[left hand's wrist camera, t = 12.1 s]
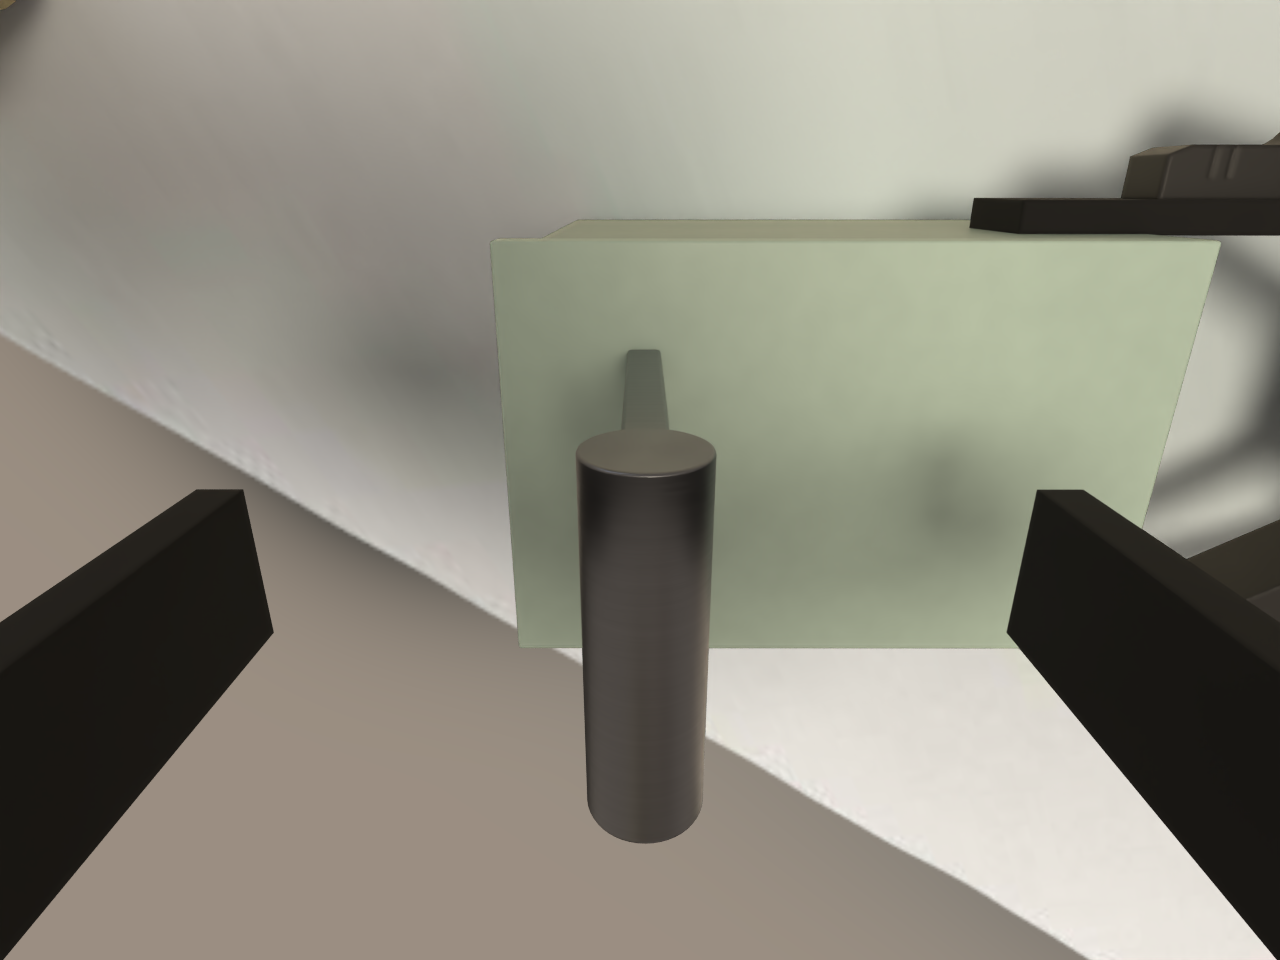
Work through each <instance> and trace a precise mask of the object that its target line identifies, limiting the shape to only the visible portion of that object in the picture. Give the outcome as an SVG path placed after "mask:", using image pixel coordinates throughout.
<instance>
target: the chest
mask: <svg viewBox="0 0 1280 960" xmlns="http://www.w3.org/2000/svg"><path fill="white" fill-rule="evenodd" d="M969 226H970V220H576V221H574V222H572V223H570V224H568V225H567V226H565V227H563V228H561V229H559V230H557V231H555V232H553V233H551V234H549V235H547V236H545V237H543V238H1185V237H1174V236H1163V235H1152V234H1014V233H1006V232H998V231H990V230H982V229H973V228H969Z"/></svg>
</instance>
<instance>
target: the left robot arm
mask: <svg viewBox="0 0 1280 960" xmlns="http://www.w3.org/2000/svg"><path fill="white" fill-rule="evenodd" d="M273 633H274V632H273V627H272V623H271V618H270V613H269V608H268V604H267V599H266V594H265V590H264V585H263V580H262V576H261V571H260V566H259V562H258V557H257V552H256V547H255V543H254V538H253V533H252V529H251V524H250V519H249V515H248V510H247V505H246V501H245V496H244V492H243V490H195V491H194V492H192V493H191V494H189V495H188V496H186V497H185V498H183V499H182V500H180V501H179V502H177V503H176V504H174V505H173V506H172V507H170V508H169V509H167V510H166V511H164V512H163V513H161V514H160V515H158V516H157V517H155V518H154V519H152V520H151V521H149V522H148V523H146V524H145V525H143V526H142V527H140V528H139V529H138V530H136V531H135V532H133V533H132V534H130V535H129V536H127V537H126V538H124V539H123V540H121V541H120V542H118V543H117V544H115V545H114V546H112V547H111V548H109V549H108V550H107V551H105V552H104V553H102V554H101V555H99V556H98V557H96V558H95V559H93V560H92V561H90V562H89V563H87V564H86V565H84V566H83V567H81V568H80V569H79V570H77V571H75V572H74V573H72V574H71V575H70V576H68V577H67V578H65V579H64V580H62V581H61V582H59V583H58V584H56V585H55V586H53V587H52V588H50V589H49V590H47V591H46V592H44V593H43V594H41V595H40V596H38V597H37V598H36V599H34V600H33V601H31V602H30V603H28V604H27V605H25V606H24V607H22V608H21V609H19V610H18V611H16V612H15V613H13V614H12V615H11V616H9V617H7V618H6V619H5V620H3V621H2V622H0V960H3V959H4V958H5V957H6V956H7V955H8V953H9V952H10V951H11V950H12V948H13V947H14V946H15V945H16V944H17V942H18V941H19V940H20V939H21V938H22V936H23V935H24V934H25V933H26V932H27V930H28V929H29V928H30V927H31V926H32V924H33V923H34V922H35V921H36V919H37V918H38V917H39V916H40V915H41V913H42V912H43V911H44V910H45V909H46V907H47V906H48V905H49V904H50V902H51V901H52V900H53V899H54V898H55V896H56V895H57V894H58V893H59V892H60V890H61V889H62V888H63V887H64V886H65V884H66V883H67V882H68V881H69V880H70V878H71V877H72V876H73V875H74V873H75V872H76V871H77V870H78V869H79V867H80V866H81V865H82V864H83V863H84V861H85V860H86V859H87V858H88V856H89V855H90V854H91V853H92V852H93V851H94V849H95V848H96V847H97V846H98V844H99V843H100V842H101V841H102V840H103V838H104V837H105V836H106V835H107V834H108V832H109V831H110V830H111V829H112V828H113V826H114V825H115V824H116V823H117V821H118V820H119V819H120V818H121V817H122V815H123V814H124V813H125V812H126V811H127V809H128V808H129V807H130V806H131V804H132V803H133V802H134V801H135V800H136V799H137V797H138V796H139V795H140V794H141V792H142V791H143V790H144V789H145V788H146V786H147V785H148V784H149V783H150V782H151V780H152V779H153V778H154V777H155V776H156V774H157V773H158V772H159V771H160V769H161V768H162V767H163V766H164V765H165V763H166V762H167V761H168V760H169V759H170V757H171V756H172V755H173V754H174V753H175V751H176V750H177V749H178V748H179V746H180V745H181V744H182V743H183V742H184V740H185V739H186V738H187V737H188V736H189V734H190V733H191V732H192V731H193V730H194V728H195V727H196V726H197V725H198V724H199V722H200V721H201V720H202V719H203V717H204V716H205V715H206V714H207V713H208V711H209V710H210V709H211V708H212V707H213V705H214V704H215V703H216V702H217V701H218V699H219V698H220V697H221V696H222V694H223V693H224V692H225V691H226V690H227V688H228V687H229V686H230V685H231V684H232V682H233V681H234V680H235V679H236V678H237V676H238V675H239V674H240V673H241V671H242V670H243V669H244V668H245V667H246V665H247V664H248V663H249V662H250V661H251V659H252V658H253V657H254V656H255V655H256V653H257V652H258V651H259V650H260V649H261V647H262V646H263V645H264V644H265V642H266V641H267V640H268V639H269V638H270V636H271V635H272V634H273ZM1006 633H1007V634H1008V635H1009V636H1010V638H1011V639H1012V640H1013V641H1014V642H1015V644H1016V645H1017V646H1018V647H1019V648H1020V650H1021V651H1022V652H1023V653H1024V655H1025V656H1026V657H1027V658H1028V659H1029V661H1030V662H1031V663H1032V664H1033V665H1034V667H1035V668H1036V669H1037V670H1038V671H1039V673H1040V674H1041V675H1042V676H1043V678H1044V679H1045V680H1046V681H1047V682H1048V684H1049V685H1050V686H1051V687H1052V688H1053V690H1054V691H1055V692H1056V693H1057V694H1058V696H1059V697H1060V698H1061V699H1062V700H1063V702H1064V703H1065V704H1066V705H1067V707H1068V708H1069V709H1070V710H1071V711H1072V713H1073V714H1074V715H1075V716H1076V717H1077V719H1078V720H1079V721H1080V722H1081V723H1082V725H1083V726H1084V727H1085V728H1086V730H1087V731H1088V732H1089V733H1090V734H1091V736H1092V737H1093V738H1094V739H1095V740H1096V742H1097V743H1098V744H1099V745H1100V746H1101V748H1102V749H1103V750H1104V751H1105V753H1106V754H1107V755H1108V756H1109V757H1110V759H1111V760H1112V761H1113V762H1114V763H1115V765H1116V766H1117V767H1118V768H1119V769H1120V771H1121V772H1122V773H1123V774H1124V775H1125V777H1126V778H1127V779H1128V780H1129V782H1130V783H1131V784H1132V785H1133V786H1134V788H1135V789H1136V790H1137V791H1138V792H1139V794H1140V795H1141V796H1142V797H1143V798H1144V800H1145V801H1146V802H1147V803H1148V805H1149V806H1150V807H1151V808H1152V809H1153V811H1154V812H1155V813H1156V814H1157V815H1158V817H1159V818H1160V819H1161V820H1162V821H1163V823H1164V824H1165V825H1166V826H1167V827H1168V829H1169V830H1170V831H1171V832H1172V834H1173V835H1174V836H1175V837H1176V838H1177V840H1178V841H1179V842H1180V843H1181V844H1182V846H1183V847H1184V848H1185V849H1186V850H1187V852H1188V853H1189V854H1190V855H1191V857H1192V858H1193V859H1194V860H1195V861H1196V863H1197V864H1198V865H1199V866H1200V867H1201V869H1202V870H1203V871H1204V872H1205V873H1206V875H1207V876H1208V877H1209V878H1210V880H1211V881H1212V882H1213V883H1214V884H1215V886H1216V887H1217V888H1218V889H1219V890H1220V892H1221V893H1222V894H1223V895H1224V896H1225V898H1226V899H1227V900H1228V901H1229V902H1230V904H1231V905H1232V906H1233V907H1234V909H1235V910H1236V911H1237V912H1238V913H1239V915H1240V916H1241V917H1242V918H1243V919H1244V921H1245V922H1246V923H1247V924H1248V925H1249V927H1250V928H1251V929H1252V930H1253V932H1254V933H1255V934H1256V935H1257V936H1258V938H1259V939H1260V940H1261V941H1262V942H1263V944H1264V945H1265V946H1266V947H1267V948H1268V950H1269V951H1270V952H1271V953H1272V954H1273V956H1274V957H1275V958H1276V959H1277V960H1280V622H1278V621H1277V620H1276V619H1274V618H1273V617H1271V616H1270V615H1268V614H1267V613H1265V612H1264V611H1262V610H1261V609H1259V608H1258V607H1256V606H1255V605H1253V604H1252V603H1250V602H1249V601H1247V600H1246V599H1244V598H1243V597H1242V596H1240V595H1239V594H1237V593H1236V592H1234V591H1233V590H1231V589H1230V588H1228V587H1227V586H1225V585H1224V584H1222V583H1221V582H1219V581H1218V580H1216V579H1215V578H1213V577H1212V576H1210V575H1209V574H1208V573H1206V572H1205V571H1203V570H1202V569H1200V568H1199V567H1197V566H1196V565H1194V564H1193V563H1191V562H1190V561H1188V560H1187V559H1185V558H1184V557H1182V556H1181V555H1179V554H1178V553H1177V552H1175V551H1174V550H1172V549H1171V548H1169V547H1168V546H1166V545H1165V544H1163V543H1162V542H1160V541H1159V540H1157V539H1156V538H1154V537H1153V536H1151V535H1150V534H1148V533H1147V532H1145V531H1144V530H1143V529H1141V528H1140V527H1138V526H1137V525H1135V524H1134V523H1132V522H1131V521H1129V520H1128V519H1126V518H1125V517H1123V516H1122V515H1120V514H1119V513H1117V512H1116V511H1114V510H1113V509H1111V508H1110V507H1109V506H1107V505H1106V504H1104V503H1103V502H1101V501H1100V500H1098V499H1097V498H1095V497H1094V496H1092V495H1091V494H1089V493H1088V492H1086V491H1085V490H1037V491H1036V496H1035V501H1034V505H1033V510H1032V515H1031V520H1030V524H1029V529H1028V534H1027V538H1026V543H1025V548H1024V552H1023V557H1022V562H1021V566H1020V571H1019V576H1018V580H1017V585H1016V590H1015V594H1014V599H1013V604H1012V608H1011V613H1010V618H1009V622H1008V627H1007V632H1006Z"/></svg>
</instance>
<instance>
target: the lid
mask: <svg viewBox="0 0 1280 960" xmlns="http://www.w3.org/2000/svg"><path fill="white" fill-rule="evenodd" d="M1220 246H1221V242H1220V241H1218V240H1207V239H1196V238H499V239H496V240H493V241H491V242H490V252H491V266H492V280H493V294H494V308H495V322H496V336H497V350H498V364H499V378H500V391H501V405H502V419H503V433H504V447H505V461H506V475H507V489H508V503H509V516H510V530H511V544H512V558H513V572H514V586H515V600H516V614H517V628H518V641H519V647H520V648H582V657H583V686H584V715H585V743H586V773H587V801H588V807H589V809H590V812H591V814H592V816H593V818H594V819H595V821H596V822H597V823H598V825H600V826H601V827H602V828H603V829H604V830H605V831H607V832H608V833H609V834H611V835H613V836H615V837H617V838H619V839H622V840H625V841H629V842H634V843H656V842H662V841H665V840H669V839H671V838H674V837H676V836H678V835H679V834H681V833H683V832H684V831H685V830H687V829H688V828H689V827H690V826H691V825H692V824H693V822H694V821H695V820H696V818H697V816H698V815H699V813H700V810H701V807H702V801H703V776H704V752H705V727H706V703H707V678H708V654H709V648H1019V647H1018V646H1017V645H1016V644H1015V642H1014V641H1013V640H1012V639H1011V638H1010V636H1009V635H1008V634H1007V633H1006V632H1007V627H1008V622H1009V618H1010V613H1011V608H1012V604H1013V599H1014V594H1015V590H1016V585H1017V580H1018V576H1019V571H1020V566H1021V562H1022V557H1023V552H1024V548H1025V543H1026V538H1027V534H1028V529H1029V524H1030V520H1031V515H1032V510H1033V505H1034V501H1035V496H1036V491H1037V490H1085V491H1086V492H1088V493H1089V494H1091V495H1092V496H1094V497H1095V498H1097V499H1098V500H1100V501H1101V502H1103V503H1104V504H1106V505H1107V506H1109V507H1110V508H1111V509H1113V510H1114V511H1116V512H1117V513H1119V514H1120V515H1122V516H1123V517H1125V518H1126V519H1128V520H1129V521H1131V522H1132V523H1134V524H1135V525H1137V526H1138V527H1140V528H1141V529H1142V527H1143V523H1144V520H1145V516H1146V512H1147V509H1148V505H1149V502H1150V498H1151V494H1152V491H1153V487H1154V484H1155V480H1156V477H1157V473H1158V469H1159V466H1160V462H1161V459H1162V455H1163V451H1164V448H1165V444H1166V441H1167V437H1168V433H1169V430H1170V426H1171V423H1172V419H1173V415H1174V412H1175V408H1176V405H1177V401H1178V397H1179V394H1180V390H1181V387H1182V383H1183V379H1184V376H1185V372H1186V369H1187V365H1188V361H1189V358H1190V354H1191V351H1192V347H1193V344H1194V340H1195V336H1196V333H1197V329H1198V326H1199V322H1200V318H1201V315H1202V311H1203V308H1204V304H1205V300H1206V297H1207V293H1208V290H1209V286H1210V282H1211V279H1212V275H1213V272H1214V268H1215V264H1216V261H1217V257H1218V254H1219V250H1220Z"/></svg>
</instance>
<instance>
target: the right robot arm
mask: <svg viewBox="0 0 1280 960" xmlns="http://www.w3.org/2000/svg"><path fill="white" fill-rule="evenodd" d="M969 228H973V229H982V230H990V231H998V232H1006V233H1014V234H1152V235H1280V133H1279V134H1277V135H1276V136H1275V137H1274V138H1273V139H1272V140H1270V141H1268V142H1267V143H1265V144H1263V145H1182V146H1169V147H1156V148H1151V149H1148V150H1146V151H1143V152H1141V153H1138V154H1136V155H1133V156H1131V157H1130V160H1129V165H1128V169H1127V174H1126V178H1125V182H1124V187H1123V191H1122V196H1121V198H974V201H973V207H972V214H971V220H970V226H969ZM1187 560H1188V561H1190V562H1191V563H1193V564H1194V565H1196V566H1197V567H1199V568H1200V569H1202V570H1203V571H1205V572H1206V573H1208V574H1209V575H1210V576H1212V577H1213V578H1215V579H1216V580H1218V581H1219V582H1221V583H1222V584H1224V585H1225V586H1227V587H1228V588H1230V589H1231V590H1233V591H1234V592H1236V593H1237V594H1239V595H1240V596H1242V597H1243V598H1244V599H1246V600H1247V601H1249V602H1250V603H1252V604H1253V605H1255V606H1256V607H1258V608H1259V609H1261V610H1262V611H1264V612H1265V613H1267V614H1268V615H1270V616H1271V617H1273V618H1274V619H1276V620H1277V621H1278V622H1280V520H1278V521H1275V522H1273V523H1271V524H1268V525H1266V526H1264V527H1261V528H1259V529H1256V530H1254V531H1252V532H1249V533H1247V534H1245V535H1242V536H1240V537H1238V538H1235V539H1233V540H1231V541H1228V542H1226V543H1224V544H1221V545H1219V546H1216V547H1214V548H1212V549H1209V550H1207V551H1205V552H1202V553H1200V554H1198V555H1195V556H1193V557H1191V558H1188V559H1187Z"/></svg>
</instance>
